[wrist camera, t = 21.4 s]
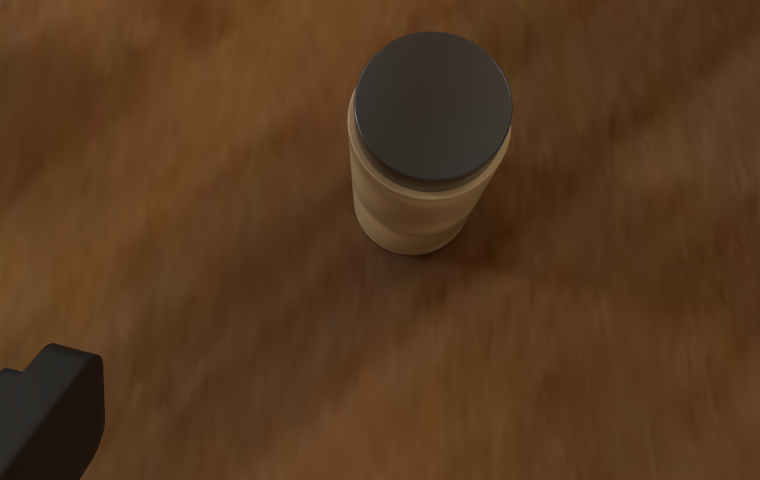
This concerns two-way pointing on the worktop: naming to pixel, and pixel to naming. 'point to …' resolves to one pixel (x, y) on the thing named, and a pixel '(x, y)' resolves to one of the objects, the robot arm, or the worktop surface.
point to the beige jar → (425, 139)
